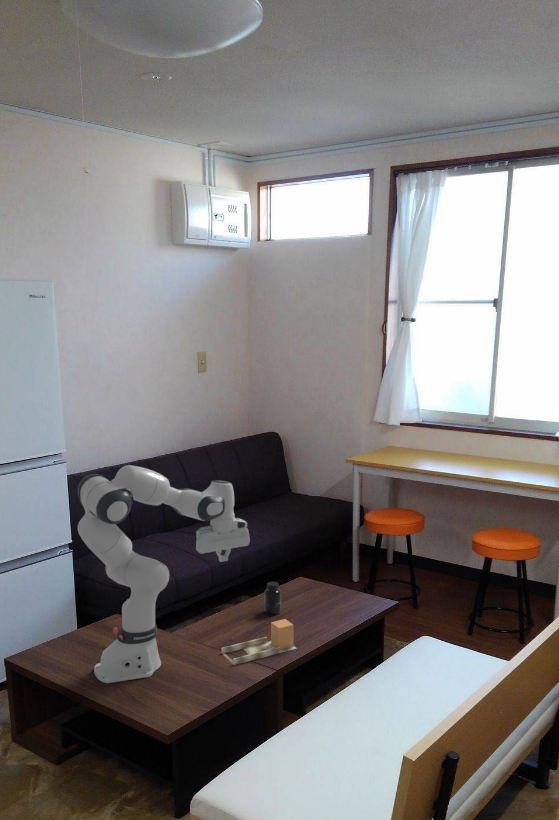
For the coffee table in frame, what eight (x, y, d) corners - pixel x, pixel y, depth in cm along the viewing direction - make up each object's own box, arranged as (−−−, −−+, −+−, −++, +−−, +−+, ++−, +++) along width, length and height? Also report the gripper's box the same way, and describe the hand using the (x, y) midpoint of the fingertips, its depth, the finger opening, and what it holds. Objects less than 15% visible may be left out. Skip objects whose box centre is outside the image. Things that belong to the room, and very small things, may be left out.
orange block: (279, 649, 251) (278, 628, 250) (271, 643, 256) (270, 622, 255) (293, 646, 254) (293, 624, 253) (285, 639, 259) (285, 618, 258)
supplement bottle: (281, 615, 285) (280, 586, 284) (264, 615, 285) (263, 586, 284) (281, 608, 292) (281, 580, 291) (265, 608, 292) (264, 580, 291)
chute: (234, 669, 240) (233, 659, 240) (221, 657, 249) (221, 647, 248) (297, 652, 252) (297, 643, 252) (283, 641, 261) (283, 632, 260)
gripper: (199, 530, 248) (200, 568, 250) (251, 522, 258) (251, 558, 259) (192, 526, 253) (193, 563, 255) (243, 518, 263) (244, 554, 265)
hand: (223, 560), depth 257 cm, fingers closed
